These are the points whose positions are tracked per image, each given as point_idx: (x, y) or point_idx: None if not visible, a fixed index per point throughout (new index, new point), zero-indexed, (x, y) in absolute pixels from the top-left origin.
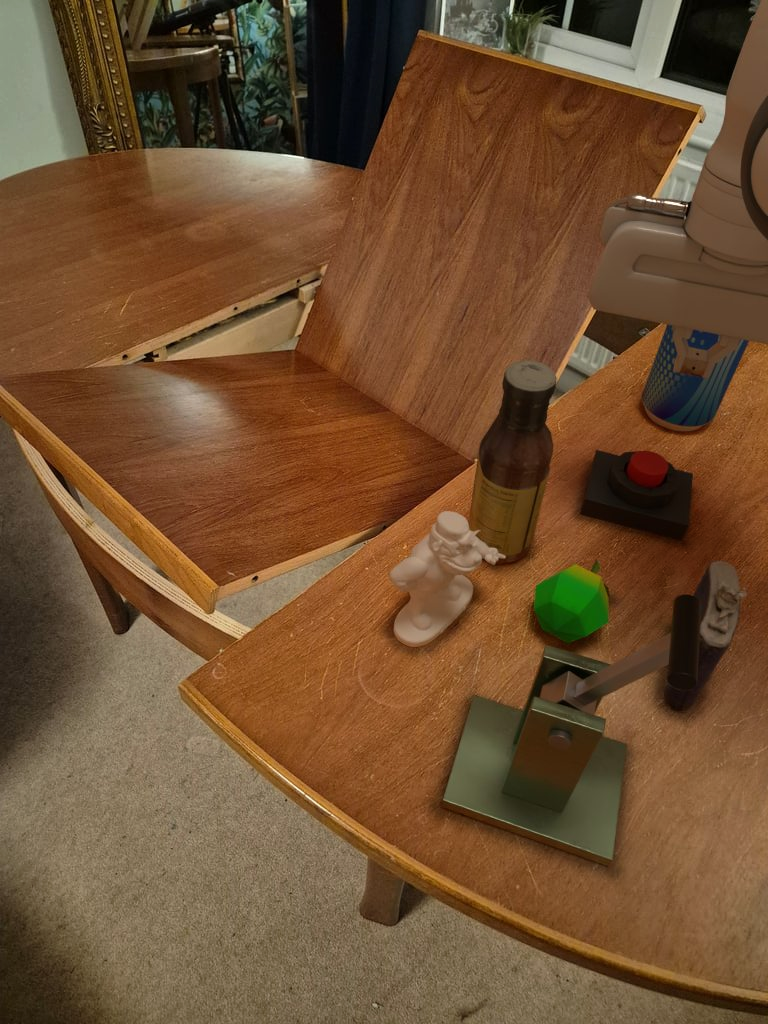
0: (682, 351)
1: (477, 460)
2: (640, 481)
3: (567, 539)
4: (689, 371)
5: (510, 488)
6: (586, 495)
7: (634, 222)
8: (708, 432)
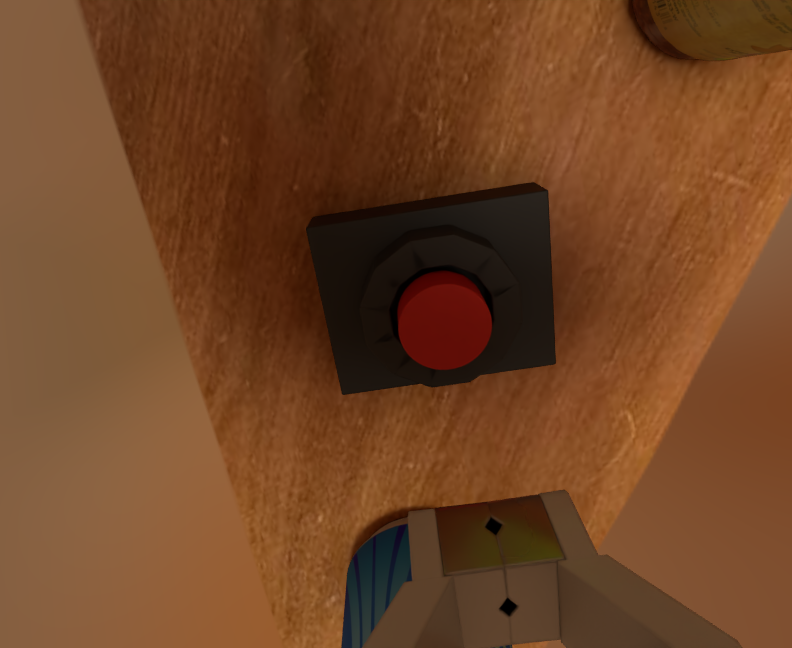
0: (602, 578)
1: None
2: (446, 274)
3: (544, 84)
4: (501, 507)
5: None
6: (547, 203)
7: None
8: (346, 541)
